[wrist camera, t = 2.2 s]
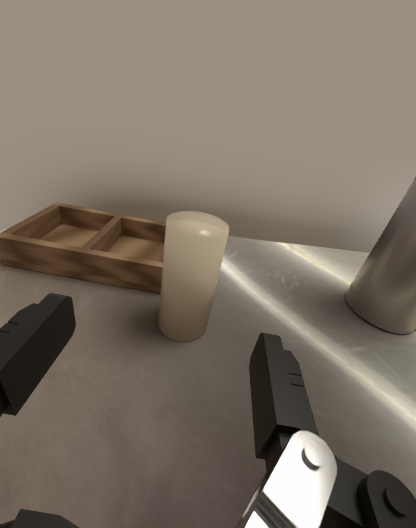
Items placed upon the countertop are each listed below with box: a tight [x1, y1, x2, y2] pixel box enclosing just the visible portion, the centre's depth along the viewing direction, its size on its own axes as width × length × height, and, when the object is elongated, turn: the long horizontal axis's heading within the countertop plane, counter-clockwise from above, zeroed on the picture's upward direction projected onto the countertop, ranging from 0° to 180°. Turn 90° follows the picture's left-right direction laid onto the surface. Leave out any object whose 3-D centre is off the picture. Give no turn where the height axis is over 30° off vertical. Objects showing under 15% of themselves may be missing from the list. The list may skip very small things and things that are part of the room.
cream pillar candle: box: [158, 211, 229, 342], centre depth 25 cm, size 5×5×12 cm
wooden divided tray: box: [0, 203, 166, 294], centre depth 35 cm, size 20×12×4 cm, turn 86°
